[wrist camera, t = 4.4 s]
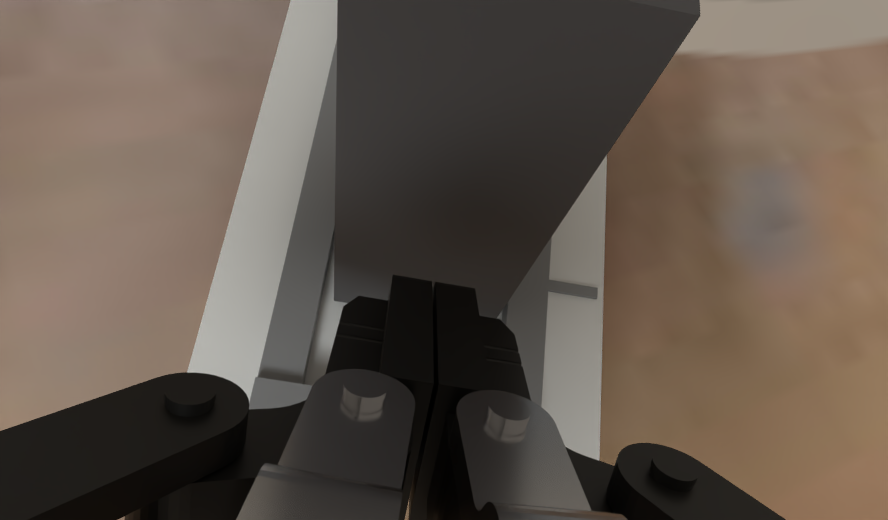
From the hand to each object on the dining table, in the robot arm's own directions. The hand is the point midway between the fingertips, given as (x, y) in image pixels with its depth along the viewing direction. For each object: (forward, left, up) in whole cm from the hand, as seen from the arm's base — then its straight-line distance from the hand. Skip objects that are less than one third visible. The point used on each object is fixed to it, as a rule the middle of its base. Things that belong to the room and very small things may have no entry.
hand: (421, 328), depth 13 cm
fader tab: (-3, +2, -5) cm, 6 cm away
